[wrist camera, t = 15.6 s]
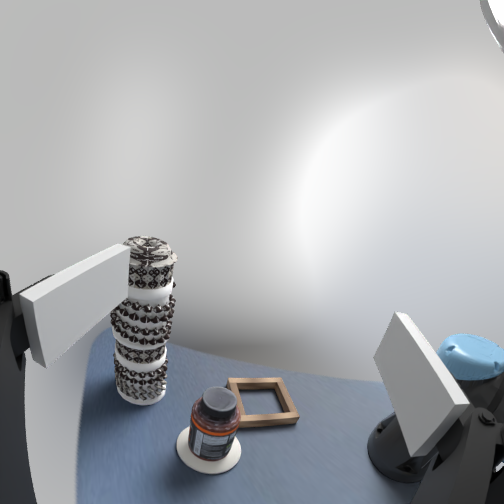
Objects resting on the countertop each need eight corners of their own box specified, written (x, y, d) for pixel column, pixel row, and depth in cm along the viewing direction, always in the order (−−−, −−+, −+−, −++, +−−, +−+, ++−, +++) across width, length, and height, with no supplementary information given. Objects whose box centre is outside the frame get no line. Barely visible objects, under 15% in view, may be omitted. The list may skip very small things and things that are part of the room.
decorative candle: (115, 366, 42) (115, 228, 35) (165, 370, 46) (180, 235, 39) (112, 404, 34) (104, 250, 27) (170, 407, 38) (186, 259, 31)
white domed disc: (233, 425, 37) (234, 423, 37) (246, 472, 29) (247, 470, 29) (174, 424, 35) (174, 422, 35) (179, 473, 26) (179, 472, 26)
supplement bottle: (192, 426, 35) (200, 374, 31) (232, 436, 35) (248, 386, 31) (182, 456, 29) (188, 408, 26) (226, 467, 29) (243, 422, 26)
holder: (278, 384, 49) (281, 377, 48) (296, 423, 40) (299, 416, 39) (226, 384, 46) (228, 377, 46) (237, 427, 37) (239, 421, 36)
